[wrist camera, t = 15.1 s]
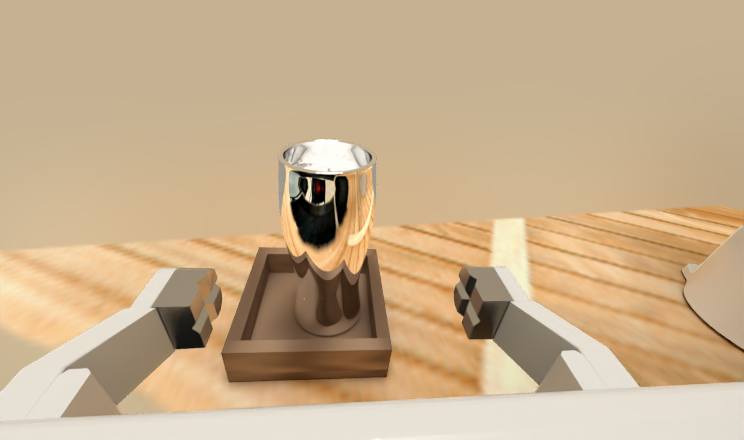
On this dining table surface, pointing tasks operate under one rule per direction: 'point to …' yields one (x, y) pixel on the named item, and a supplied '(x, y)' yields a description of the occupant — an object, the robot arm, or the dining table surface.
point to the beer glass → (327, 227)
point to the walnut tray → (293, 343)
